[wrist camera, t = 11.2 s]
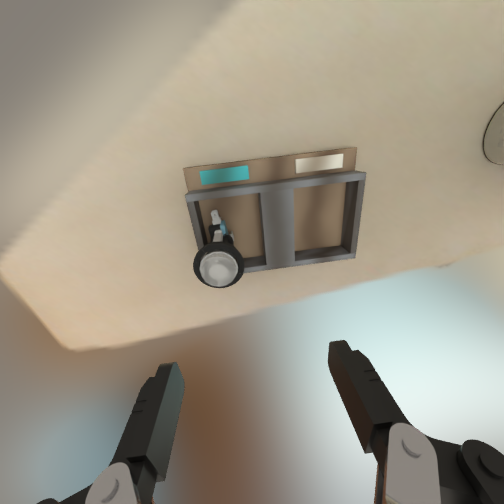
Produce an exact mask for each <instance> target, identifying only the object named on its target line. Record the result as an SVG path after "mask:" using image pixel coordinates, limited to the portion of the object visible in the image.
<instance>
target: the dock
mask: <svg viewBox="0 0 504 504" xmlns="http://www.w3.org/2000/svg"><path fill="white" fill-rule="evenodd" d="M356 153H357V147H355V148H344V149H336V150H328V151H319V152H311V153H303V154H295V155H287V156H279V157H270V158H262V159H254V160H246V161H238V162H230V163H221V164H213V165H205V166H197V167H189V168H184V169H183V171H184V175H185V180H186V184H187V188H188V193H187V194H186V195H185V198H186V202H187V206H188V210H189V214H190V218H191V222H192V226H193V230H194V234H195V238H196V242H197V246H198V250H200V249H201V248H203V246H205V245H206V244H208V243H210V241H211V237H210V234H209V230H208V228H209V226H210V225H212V221H213V219H212V216H211V213H212V211H213V210H217V211H218V215H219V217H221V221H222V220H225V223H226V227H227V230H228V234H232V232H233V235H234V246H235V247H236V249H237V250H238V251H239V252H240V253H241V255H242V257H243V259H244V272H243V273H249V272H256V271H263V270H271V269H278V268H286V267H293V266H300V265H308V264H315V263H323V262H330V261H337V260H345V259H352V258H355V256H356V249H357V241H358V233H359V225H360V217H361V210H362V202H363V194H364V186H365V179H366V172H360V171H355V163H356ZM214 215H215V214H214ZM204 255H205V254H204ZM204 255H203V256H202V258H201V261H202V259H203V258H204ZM236 263H237V265H238V260H237V258H236Z"/></svg>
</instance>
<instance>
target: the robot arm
mask: <svg viewBox="0 0 504 504" xmlns="http://www.w3.org/2000/svg"><path fill="white" fill-rule="evenodd" d="M484 151H485V154H486V156H487V158H488V159H489V160H490V161H491V162H494V163H496V164H504V104H503V105H502V106H501V107H500V108H499V110H498V111H497V112H496V114H495V115H494V117H493V118H492V120H491V122H490V124H489V126H488V129H487V131H486V135H485V138H484ZM328 366H329V370H330V373H331V375H332V377H333V380H334V382H335V384H336V386H337V389H338V392H339V394H340V396H341V399H342V401H343V403H344V406H345V408H346V410H347V412H348V415H349V417H350V420H351V422H352V424H353V427H354V429H355V431H356V434H357V436H358V438H359V441H360V443H361V446H362V448H363V450H364V453H373V454H374V456H375V458H376V460H377V462H378V465H377V475H376V487H375V497H374V504H504V455H503V454H502V453H500V452H499V451H498V450H496V449H495V448H493V447H492V446H490V445H488V444H486V443H484V442H481V441H478V440H467V441H465V442H464V443H463V445H458V444H453V443H450V442H445V441H441V440H437V439H434V438H431V437H429V436H426V435H424V434H423V433H422V432H420V431H419V430H418V429H416V428H415V427H414V426H413V425H412V424H410V422H409V421H408V420H407V419H406V417H405V416H404V414H403V413H402V411H401V410H400V408H399V407H398V405H397V403H396V402H395V400H394V399H393V397H392V395H391V394H390V392H389V391H388V389H387V387H386V386H385V384H384V383H383V381H381V378H380V377H379V375H378V373H377V372H376V371H375V369H374V367H373V365H372V364H371V362H370V361H369V359H368V358H367V357H366V356H365V355H363V354H362V353H361V352H360V351H359V350H354V351H352V350H351V348H350V347H349V345H348V343H347V342H346V341H345V340H340V341H333V342H330V343H329V353H328ZM183 395H184V379H183V376H182V374H181V372H180V369H179V367H178V364H177V363H176V362H172V363H164V364H160V366H159V367H158V370H157V373H156V376H155V377H149V379H148V380H147V381H146V383H145V384H144V385H143V387H142V388H141V390H140V392H139V395H138V397H137V400H136V404H135V405H134V407H133V410H132V414H131V415H130V417H129V420H128V422H127V425H126V427H125V430H124V433H123V435H122V437H121V440H120V442H119V445H118V447H117V450H116V452H115V455H114V457H113V459H112V461H111V463H110V465H109V466H108V468H106V469H105V470H104V471H103V472H102V473H101V474H100V475H99V476H98V477H97V479H96V480H95V481H94V483H93V484H91V485H90V486H88V487H87V488H85V489H83V490H81V491H79V492H77V493H76V494H74V495H72V496H70V497H68V498H66V499H65V500H63V501H61V502H57V501H56V500H54V499H52V498H49V499H45V500H43V501H40V502H39V503H37V504H155V502H154V499H153V492H154V488H155V483H156V482H160V481H165V478H166V473H167V468H168V464H169V459H170V455H171V450H172V445H173V441H174V436H175V432H176V427H177V422H178V418H179V413H180V408H181V404H182V399H183Z"/></svg>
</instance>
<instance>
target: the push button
mask: <svg viewBox="0 0 504 504" xmlns="http://www.w3.org/2000/svg"><path fill="white" fill-rule="evenodd" d="M214 214H215V215H214ZM211 216H212V219H213V221H212V225H210V226H209V228H208V230H209V234H210V237H211V241H210V243H208V244H206V245H205V246H203V248H201V249H200V250H199V251H198V253H197V254H196V256H195V259H194V263H193V269H194V272H195V274H196V276H197V278H198V279H199V280H200V281H201V282H202V283H204V284H206V285H208V286H210V287H214V288H225V287H229V286H231V285H233V284H235V283H236V282H237V281H238V280H239V279H240V278H241V277H242V275H243V272H244V259H243V257H242V255H241V253H240V252H239V251H238V250H237V249H236V247H235V246H234V235H233V232H232V234H228V230H227V227H226V223H225V220H222V221H221V217H219V215H218V211H217V210H213V211H212V213H211ZM204 254H205V255H204ZM203 255H204V258H203V259H202V261H201V258H202V256H203ZM236 258H237V260H238V265H237V263H236Z"/></svg>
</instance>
